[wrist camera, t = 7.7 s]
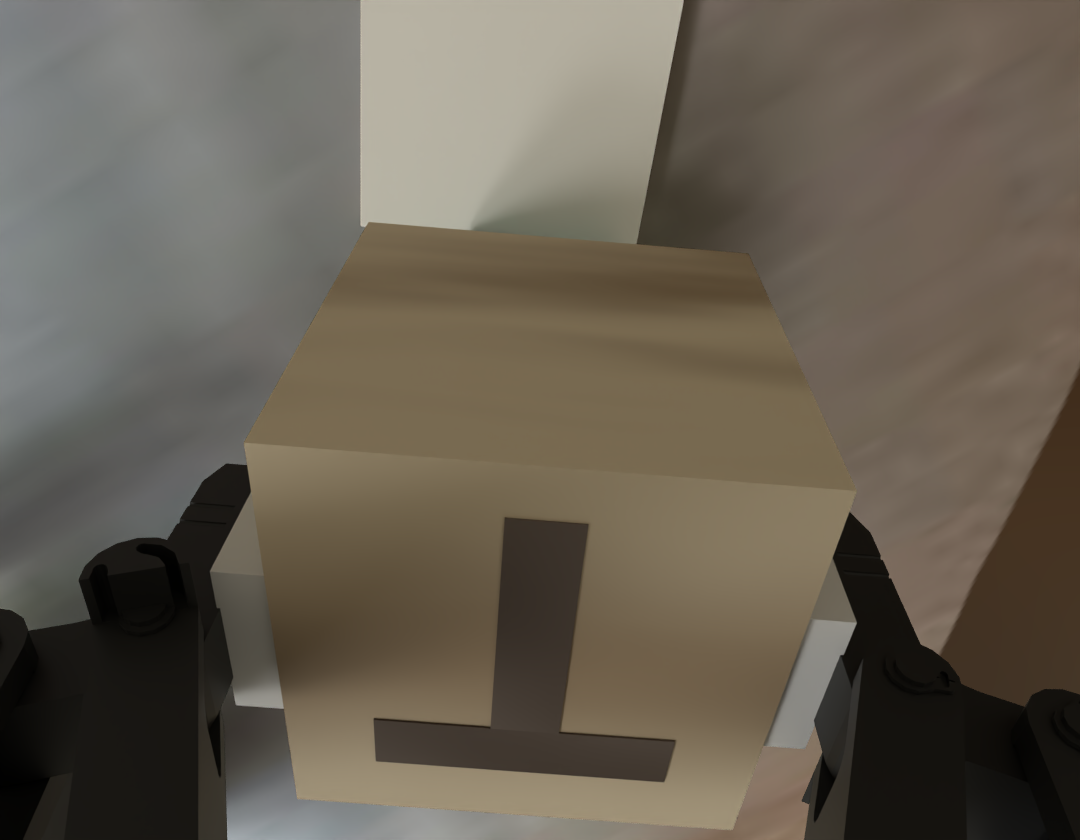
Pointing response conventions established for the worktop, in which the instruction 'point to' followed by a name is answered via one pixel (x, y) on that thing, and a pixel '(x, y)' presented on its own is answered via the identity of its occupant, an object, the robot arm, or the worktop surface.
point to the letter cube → (541, 527)
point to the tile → (513, 113)
